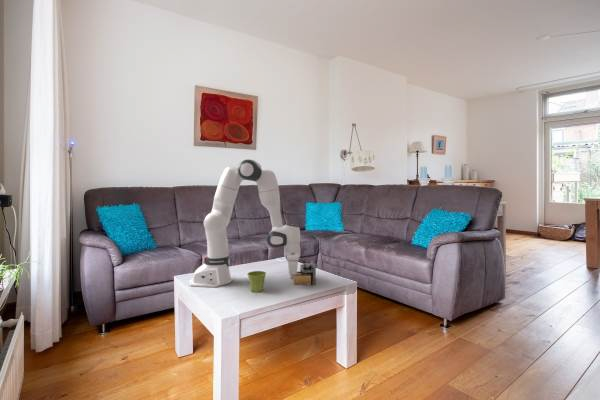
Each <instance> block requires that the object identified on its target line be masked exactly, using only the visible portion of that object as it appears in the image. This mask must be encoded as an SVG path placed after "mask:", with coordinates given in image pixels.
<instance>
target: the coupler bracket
mask: <svg viewBox="0 0 600 400" xmlns="http://www.w3.org/2000/svg"><path fill="white" fill-rule="evenodd" d="M299 270H300V271H302V273H307V272H310V274H311V285H312V286H316V285H317V283H316V279H317V275H316V274H317V267H316V264H315V261H314V260H310V262H305V263H303V264H300V269H299Z"/></svg>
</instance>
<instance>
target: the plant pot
mask: <svg viewBox="0 0 600 400" xmlns="http://www.w3.org/2000/svg"><path fill="white" fill-rule="evenodd" d="M266 275H267V272H266V271H261V270H253V271H250V272H248V273H247V275H246V276H248V281H249V287H250V292H253V293H260V292H263V290H264V286H265V279H266Z"/></svg>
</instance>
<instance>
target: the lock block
mask: <svg viewBox="0 0 600 400" xmlns="http://www.w3.org/2000/svg"><path fill="white" fill-rule="evenodd" d="M292 281H293V285H295V286H296V285H297V286H298V285H300V286H301V285H312V281H311V274H310V272H307V273H302V271H297V274H296V275H294V279H292Z"/></svg>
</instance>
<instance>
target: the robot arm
mask: <svg viewBox="0 0 600 400" xmlns="http://www.w3.org/2000/svg"><path fill="white" fill-rule="evenodd" d="M243 181H250V182H255V183H256V186H257V190H258V191H257V192H258V197H259V200H260V203H261V205H262V206H263V207H264V208H265V209H267V211H268V213H269V218H270V222H271V230H270V231H269V233H268V234H267V235H266V243H267V244H266V245H268V246H269V247H271V248H273V249H277V248H282V247H283V257H284V258H285V259H286V261H287V266H288V274H289V277H290V280H293V279H294V275H296V274H297V272H298V264H299V260H300V257H301V244H300V242H301V229H300V227H299V225H297V224H296V223H290V222H289V223H285V224H284V222H283V217H282V211H281V195H280V187H279V183H278V179H277V177H276V173H275V172H274V171H272V170H269V169H267V170H263V168H262V166H261V164H260V163H259V162H257V161H256V160H254V159H248V158H247V159H244V160H242V161H241V162H239V164H238V165H237V167H235V166H228V167H225V168H224V170H223V172H222V173H221V176H220V178H219V181H218V184H217V187H216V191H215V194H214V196H213V203H212V208H211V211H210V212H209V213H208V214H207V215H206V216H205V218H204V219H203V228H204V232H205V233H204V234H205V238H206V244H207V246H206V247H207V248H206V249H207V251H206V253H207V255H204V258H203V264H201V265H200V266H199V267H198V268H197V269H195V271H194V273H193V277H192V278H191V279H190V280H189V281H188V286H189V287H202V288H203V287H204V288H205V287H206V288H207V287H208V288H218V287H221V286H223V285H227V284H229V283H231V282H232V281H233V278H232V276H231V272H230V255H229V240H228V239H229V238H228V235H227V227H228V225H229V224H230V222H231V218H232V215H233V211H234V210H233V209H234V205H235V201H236V200H237V197H238V196H237V195H238V193H239V189H240V186H241V183H242V182H243Z"/></svg>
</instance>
